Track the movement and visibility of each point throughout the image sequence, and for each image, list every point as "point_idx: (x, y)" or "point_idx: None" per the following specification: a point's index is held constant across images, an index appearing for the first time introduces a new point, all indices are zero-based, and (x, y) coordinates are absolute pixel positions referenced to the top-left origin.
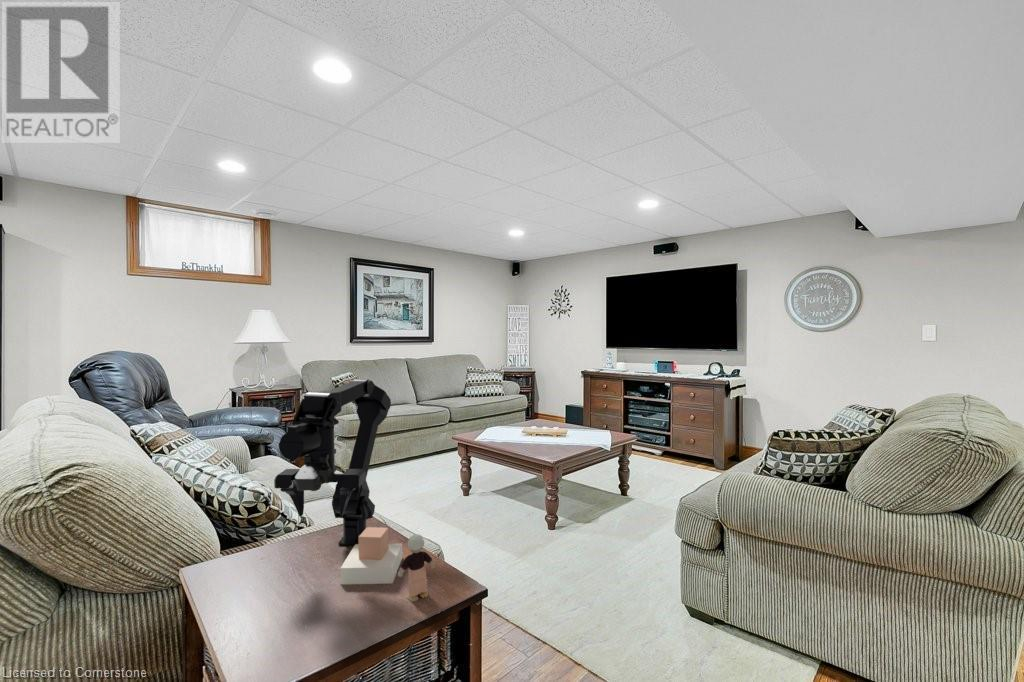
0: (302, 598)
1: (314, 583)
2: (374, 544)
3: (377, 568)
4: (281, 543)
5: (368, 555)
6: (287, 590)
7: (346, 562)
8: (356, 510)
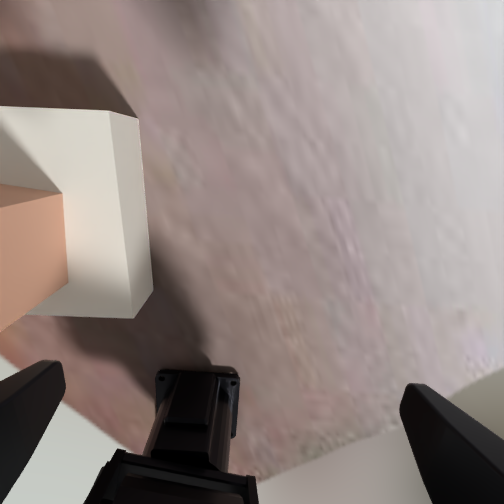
0: (246, 18)
1: (237, 134)
2: None
3: None
4: None
5: (2, 189)
6: (322, 89)
7: (103, 164)
8: (117, 495)
